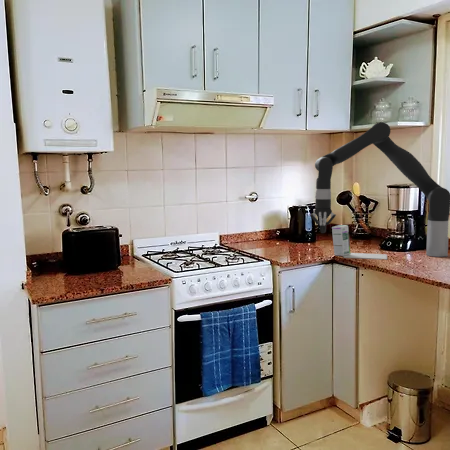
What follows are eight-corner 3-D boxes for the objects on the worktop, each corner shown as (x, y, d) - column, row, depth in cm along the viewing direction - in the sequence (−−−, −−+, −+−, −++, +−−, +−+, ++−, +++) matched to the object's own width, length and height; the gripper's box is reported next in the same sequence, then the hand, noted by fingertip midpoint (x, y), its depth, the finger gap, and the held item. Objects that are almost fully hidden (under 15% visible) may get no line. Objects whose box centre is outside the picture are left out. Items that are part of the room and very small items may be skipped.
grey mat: (386, 255, 232) (386, 254, 232) (387, 259, 221) (387, 258, 221) (345, 253, 238) (345, 252, 238) (343, 257, 227) (343, 256, 227)
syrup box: (343, 256, 229) (341, 226, 228) (333, 255, 233) (331, 226, 232) (350, 254, 232) (348, 224, 231) (340, 253, 237) (338, 224, 236)
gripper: (337, 197, 234) (337, 232, 236) (310, 197, 238) (310, 231, 240) (336, 198, 227) (335, 234, 229) (308, 198, 231) (308, 233, 233)
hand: (322, 232), depth 235 cm, fingers closed
